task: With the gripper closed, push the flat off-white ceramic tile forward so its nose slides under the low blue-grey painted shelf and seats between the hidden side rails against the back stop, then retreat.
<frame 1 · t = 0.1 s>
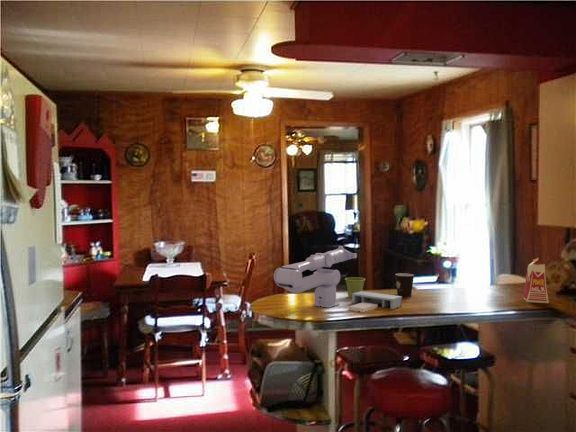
hand: (351, 251, 262), 22 cm above the table, tool horizontal, fingers open, 7 cm apart
shelf: (370, 306, 245), on the table
tile: (363, 310, 240), on the table
milk carton: (535, 301, 261), on the table
plant pot: (354, 297, 266), on the table
coffee mug: (403, 295, 273), on the table
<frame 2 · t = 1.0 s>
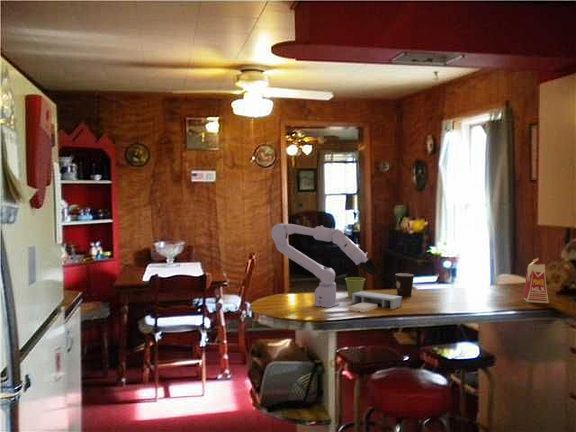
hand: (375, 273, 245), 14 cm above the table, tool tilted 45°, fingers open, 7 cm apart
nothing on the table moved.
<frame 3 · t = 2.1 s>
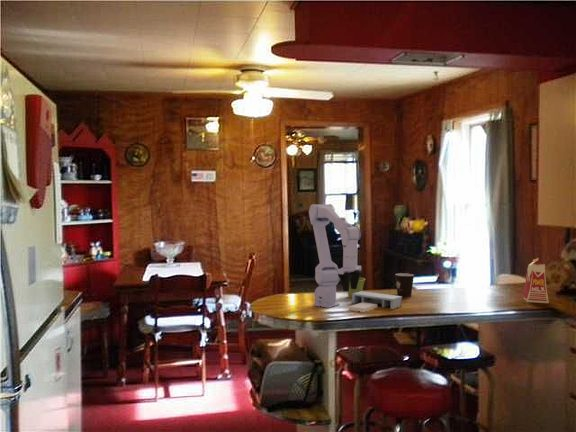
hand: (349, 290, 231), 9 cm above the table, tool pointing down, fingers open, 5 cm apart
nothing on the table moved.
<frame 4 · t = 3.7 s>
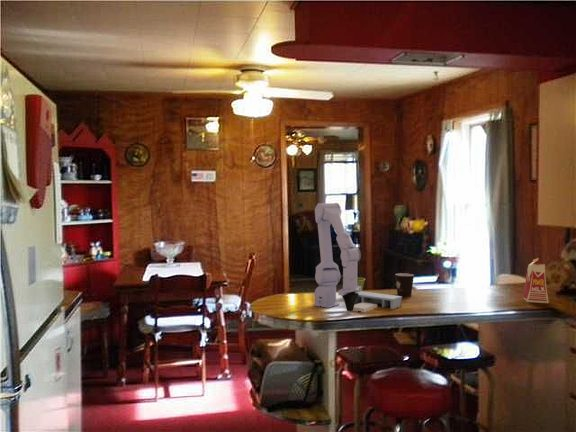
hand: (349, 310, 232), 1 cm above the table, tool pointing down, fingers closed
nothing on the table moved.
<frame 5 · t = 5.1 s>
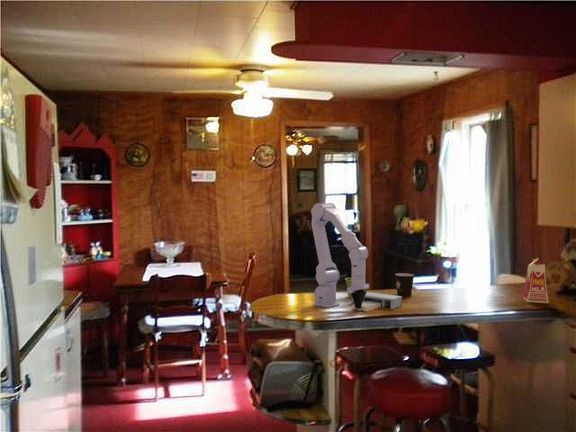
hand: (358, 308, 237), 1 cm above the table, tool pointing down, fingers closed
tile: (366, 308, 242), on the table
everything else where it was.
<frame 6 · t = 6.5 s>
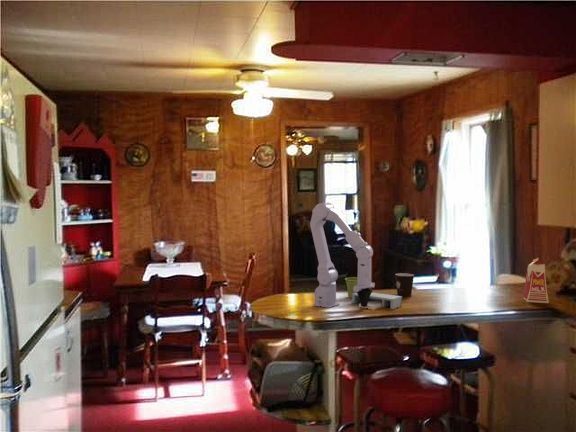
hand: (363, 306, 241), 1 cm above the table, tool pointing down, fingers closed
tile: (373, 307, 246), on the table
everything else where it was.
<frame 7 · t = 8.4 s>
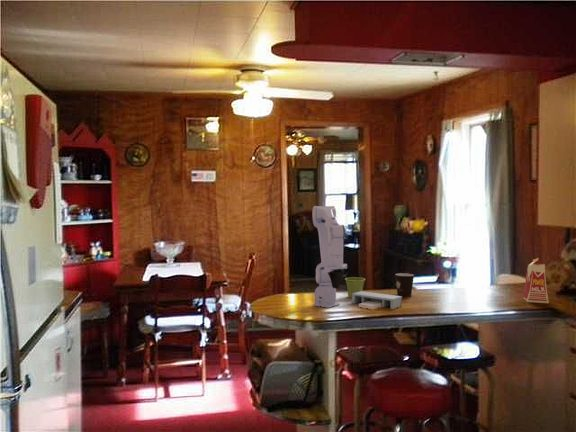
hand: (335, 288, 232), 10 cm above the table, tool pointing down, fingers closed
nothing on the table moved.
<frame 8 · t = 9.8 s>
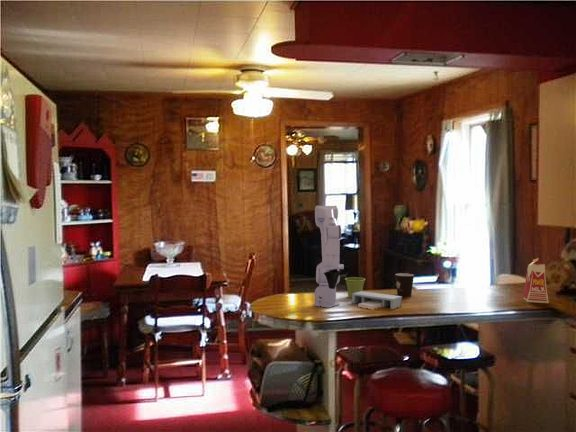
hand: (332, 288, 232), 10 cm above the table, tool pointing down, fingers closed
nothing on the table moved.
at the end: tile 0.5 cm from the target spot on the shelf, point -0.5 cm above the shelf's base; tile tilted 0° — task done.
